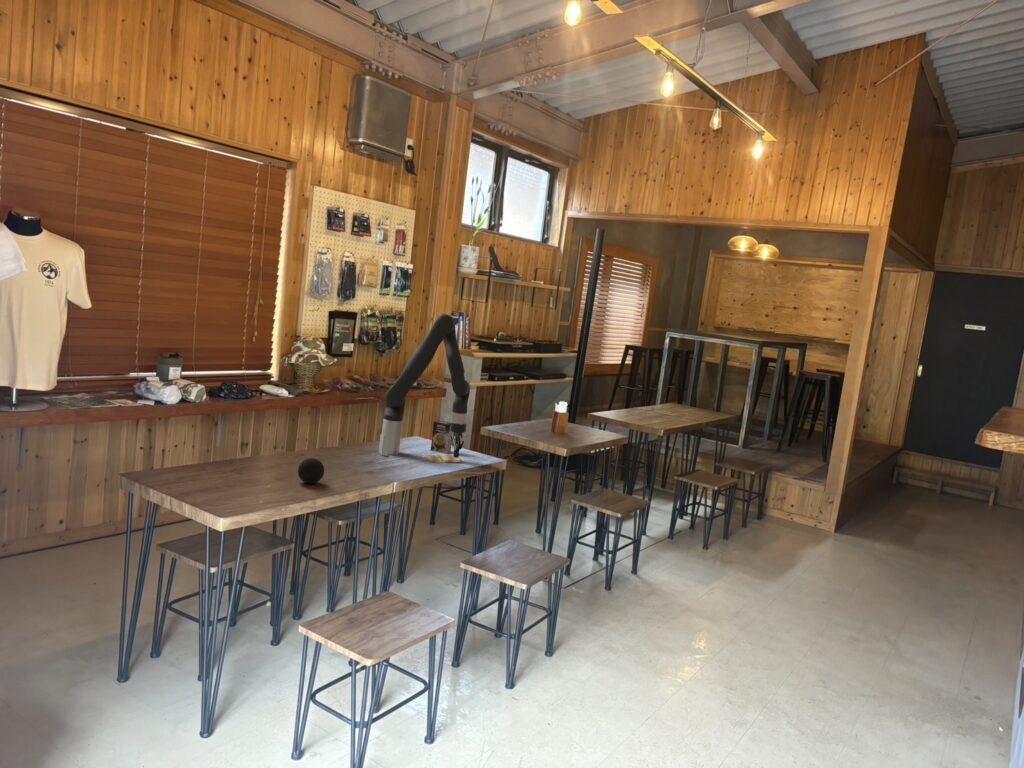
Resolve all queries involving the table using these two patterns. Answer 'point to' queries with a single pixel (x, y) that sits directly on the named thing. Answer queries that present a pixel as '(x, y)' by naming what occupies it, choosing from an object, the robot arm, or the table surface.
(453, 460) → the loose plank
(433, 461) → the plank
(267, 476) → the table surface
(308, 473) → the speaker
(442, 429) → the coffee box
